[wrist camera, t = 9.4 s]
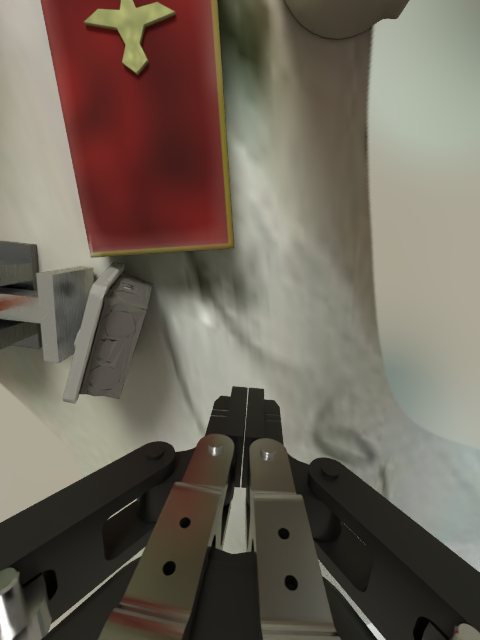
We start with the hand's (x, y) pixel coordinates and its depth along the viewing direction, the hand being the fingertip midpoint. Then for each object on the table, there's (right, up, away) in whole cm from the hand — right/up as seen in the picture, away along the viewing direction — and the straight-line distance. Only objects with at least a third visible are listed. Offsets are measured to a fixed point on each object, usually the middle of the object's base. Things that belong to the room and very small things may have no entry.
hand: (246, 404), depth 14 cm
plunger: (-21, +6, +14) cm, 26 cm away
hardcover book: (-7, +21, +10) cm, 24 cm away
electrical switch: (-11, +5, +14) cm, 19 cm away
